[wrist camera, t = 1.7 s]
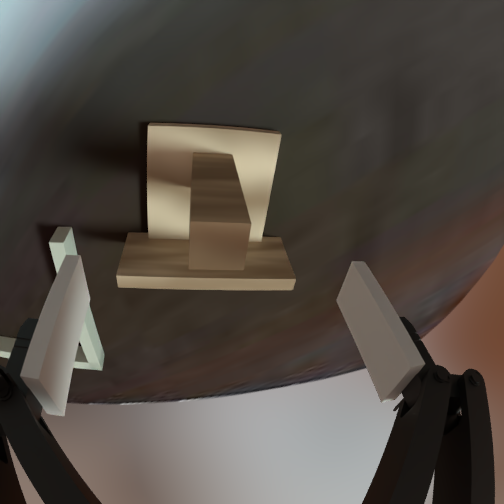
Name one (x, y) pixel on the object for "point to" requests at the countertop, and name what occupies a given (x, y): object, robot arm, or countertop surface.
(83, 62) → the countertop surface
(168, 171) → the wooden scraper
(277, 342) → the countertop surface
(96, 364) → the sage frame
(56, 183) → the countertop surface
